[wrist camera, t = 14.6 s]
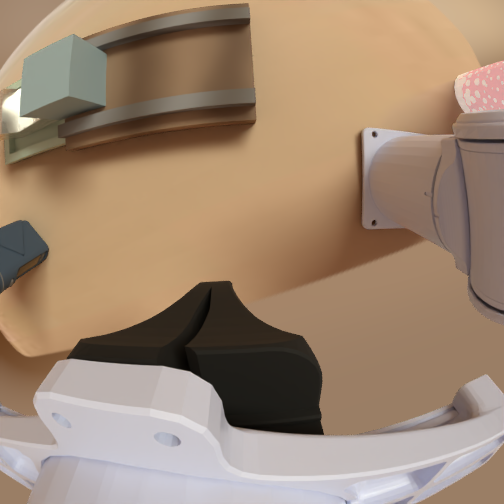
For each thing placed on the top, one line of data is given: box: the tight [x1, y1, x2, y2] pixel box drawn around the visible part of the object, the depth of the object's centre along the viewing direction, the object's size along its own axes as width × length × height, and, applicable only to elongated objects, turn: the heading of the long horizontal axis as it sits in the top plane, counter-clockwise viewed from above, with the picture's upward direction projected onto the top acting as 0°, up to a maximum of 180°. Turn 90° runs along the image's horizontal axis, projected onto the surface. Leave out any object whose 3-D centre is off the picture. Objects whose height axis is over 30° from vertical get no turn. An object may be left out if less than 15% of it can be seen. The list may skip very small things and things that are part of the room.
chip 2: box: [18, 88, 60, 132], centre depth 15 cm, size 4×4×2 cm
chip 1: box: [0, 89, 35, 141], centre depth 15 cm, size 4×4×2 cm
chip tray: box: [4, 79, 66, 165], centre depth 17 cm, size 9×8×1 cm
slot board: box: [58, 3, 256, 150], centre depth 16 cm, size 14×10×3 cm, turn 93°
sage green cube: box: [20, 34, 107, 120], centre depth 13 cm, size 4×4×5 cm
